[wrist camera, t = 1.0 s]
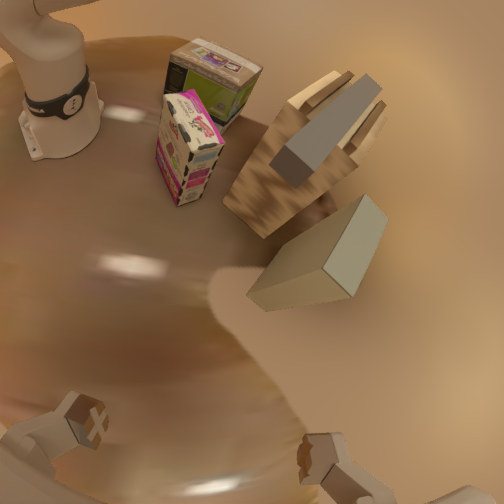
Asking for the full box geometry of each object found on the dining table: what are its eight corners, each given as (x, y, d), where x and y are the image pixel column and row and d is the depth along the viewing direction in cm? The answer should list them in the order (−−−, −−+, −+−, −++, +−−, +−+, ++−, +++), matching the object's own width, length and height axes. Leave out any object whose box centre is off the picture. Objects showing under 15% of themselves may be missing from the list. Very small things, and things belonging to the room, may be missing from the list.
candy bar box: (202, 198, 47) (227, 143, 32) (176, 208, 45) (191, 153, 30) (179, 149, 48) (195, 87, 33) (154, 157, 46) (162, 93, 31)
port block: (245, 294, 46) (322, 268, 25) (283, 244, 51) (365, 193, 30) (265, 311, 46) (352, 297, 26) (301, 260, 51) (388, 219, 31)
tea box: (241, 113, 56) (266, 66, 42) (218, 139, 52) (241, 88, 38) (186, 83, 53) (201, 34, 40) (159, 106, 49) (169, 52, 36)
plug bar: (268, 164, 22) (284, 144, 19) (354, 86, 31) (366, 73, 28) (295, 189, 22) (314, 171, 19) (369, 100, 31) (382, 88, 29)
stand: (221, 202, 48) (293, 91, 23) (264, 160, 54) (340, 63, 29) (263, 239, 49) (368, 159, 24) (301, 192, 55) (394, 112, 30)
